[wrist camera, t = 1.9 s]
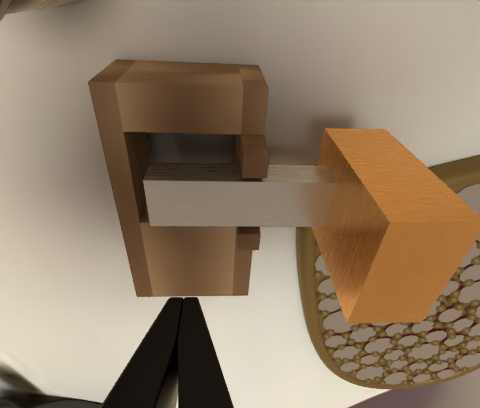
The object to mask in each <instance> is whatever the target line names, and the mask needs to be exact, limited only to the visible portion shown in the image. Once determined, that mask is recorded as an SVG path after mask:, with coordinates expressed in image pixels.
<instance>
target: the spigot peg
mask: <svg viewBox="0 0 480 408" xmlns="http://www.w3.org/2000/svg"><path fill="white" fill-rule="evenodd" d="M75 1H77V0H0V21H1V20H2V18H3V17H4V16H5V14H10V13H16V12H22V11H28V10H34V9H40V8H46V7H51V6H57V5H63V4H69V3H73V2H75Z"/></svg>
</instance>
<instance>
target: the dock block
mask: <svg viewBox="0 0 480 408" xmlns="http://www.w3.org/2000/svg"><path fill="white" fill-rule="evenodd" d="M88 84H89V89H90V93H91V97H92V102H93V106H94V111H95V115H96V119H97V124H98V128H99V133H100V137H101V141H102V146H103V150H104V154H105V159H106V163H107V168H108V172H109V176H110V181H111V185H112V190H113V194H114V198H115V203H116V207H117V212H118V216H119V220H120V225H121V229H122V234H123V238H124V242H125V247H126V251H127V255H128V260H129V264H130V269H131V273H132V277H133V282H134V286H135V291H136V295H137V297H156V296H243V295H248V289H249V279H250V268H251V258H252V250H259V243H260V228H259V226H150V222H149V215H148V209H147V203H146V196H145V190H144V183H143V179H144V177H145V174H146V171H147V169H148V166H149V163H151V162H150V154H149V147H148V140H147V132H157V133H198V134H236V137H235V161H234V164H241V171H242V178H267V174H268V165H269V153H268V149H267V145H266V142H265V138H264V127H265V117H266V106H267V96H268V86H267V84H266V82H265V79H264V77H263V75H262V73H261V70H260V68H259V66H258V65H236V64H211V63H186V62H161V61H136V60H115V61H114V62H112V63H111V64H110V65H109V66H107V67H106V68H105V69H104V70H102V71H101V72H100V73H99V74H97V75H96V76H95V77H94V78H92V79H91V80H90V81H88Z"/></svg>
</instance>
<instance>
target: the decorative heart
mask: <svg viewBox="0 0 480 408" xmlns="http://www.w3.org/2000/svg"><path fill="white" fill-rule="evenodd" d="M428 169H429V170H431V171H432V172H433V173H434V174H435V175H436V176H437V177H438V178H439V179H440V180H441V181H442V182H444V183H445V184H446V185H447V186H448V187H449V188H450V189H451V190H452V191H453V192H454V193H456V194H457V195H458V196H459V197H460V198H461V199H462V200H463V201H464V202H465V203H466V204H468V205H469V206H470V207H471V208H472V209H473V210H474V211H475V212H476V213H477V214H478V215H479V216H480V155H477V156H473V157H469V158H465V159H460V160H456V161H452V162H448V163H444V164H440V165H436V166H432V167H429V168H428ZM296 243H297V266H298V276H299V285H300V292H301V299H302V305H303V311H304V316H305V320H306V324H307V328H308V332H309V335H310V338H311V341H312V343H313V345H314V348H315V350H316V352H317V353H318V355H319V357H320V359H321V360H322V362H323V363H324V364H325V365H326V366H327V368H328V369H330V370H331V371H332V372H333V373H334V374H336V375H337V376H339V377H340V378H342V379H344V380H346V381H348V382H350V383H353V384H356V385H359V386H363V387H368V388H376V389H406V388H415V387H422V386H427V385H432V384H436V383H440V382H444V381H448V380H451V379H454V378H457V377H460V376H462V375H465V374H467V373H470V372H472V371H474V370H476V369H478V368H480V235H479V237H478V238H477V240H476V241H475V243H474V244H473V246H472V247H471V249H470V250H469V252H468V253H467V255H466V256H465V258H464V259H463V261H462V262H461V264H460V265H459V267H458V268H457V270H456V271H455V273H454V274H453V276H452V277H451V279H450V280H449V282H448V283H447V285H446V286H445V288H444V289H443V291H442V292H441V294H440V295H439V297H438V299H437V300H436V302H435V303H434V305H433V306H432V308H431V309H430V311H429V312H428V314H427V315H426V317H425V318H424V320H423V321H422V322H406V323H351V324H347V322H346V320H345V317H344V314H343V312H342V309H341V306H340V303H339V301H338V298H337V295H336V292H335V290H334V287H333V284H332V281H331V279H330V276H329V273H328V271H327V268H326V265H325V262H324V260H323V257H322V254H321V251H320V249H319V246H318V243H317V240H316V238H315V235H314V232H313V230H312V227H297V242H296Z"/></svg>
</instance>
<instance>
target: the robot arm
mask: <svg viewBox="0 0 480 408" xmlns="http://www.w3.org/2000/svg"><path fill="white" fill-rule="evenodd" d="M177 396H178V406H179V408H234V407H233V404H232V401H231V398H230V395H229V391H228V388H227V385H226V382H225V379H224V376H223V373H222V370H221V367H220V364H219V361H218V358H217V355H216V352H215V349H214V346H213V343H212V339H211V336H210V333H209V330H208V327H207V324H206V321H205V318H204V315H203V312H202V309H201V306H200V303H199V300H198V298H197V297H186V298H184V299H183V298H182V297H171V298H169V299H168V300H167V302H166V304H165V305H164V307H163V308H162V310H161V312H160V313H159V315H158V316H157V318H156V319H155V321H154V323H153V324H152V326H151V327H150V329H149V331H148V332H147V334H146V335H145V337H144V339H143V340H142V342H141V343H140V345H139V347H138V348H137V350H136V351H135V353H134V354H133V356H132V358H131V359H130V361H129V362H128V364H127V366H126V367H125V369H124V370H123V372H122V374H121V375H120V377H119V378H118V380H117V382H116V383H115V385H114V386H113V388H112V389H111V391H110V393H109V394H108V396H107V397H106V399H105V401H104V402H103V404H102V405H101V407H100V408H175V407H176V402H177Z"/></svg>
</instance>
